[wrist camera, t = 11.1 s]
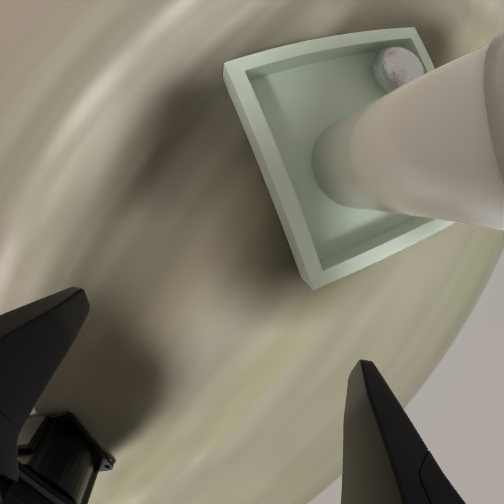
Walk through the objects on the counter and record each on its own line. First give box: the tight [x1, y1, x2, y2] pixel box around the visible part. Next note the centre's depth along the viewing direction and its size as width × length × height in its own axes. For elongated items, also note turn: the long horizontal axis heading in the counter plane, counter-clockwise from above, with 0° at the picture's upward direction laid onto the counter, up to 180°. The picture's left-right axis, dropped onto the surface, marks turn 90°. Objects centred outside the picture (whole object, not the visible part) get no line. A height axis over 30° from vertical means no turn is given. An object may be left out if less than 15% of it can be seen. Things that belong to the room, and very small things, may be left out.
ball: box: [373, 46, 424, 93], centre depth 15 cm, size 3×3×3 cm
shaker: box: [312, 33, 504, 230], centre depth 11 cm, size 5×5×14 cm
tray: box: [223, 27, 456, 291], centre depth 17 cm, size 13×13×3 cm
